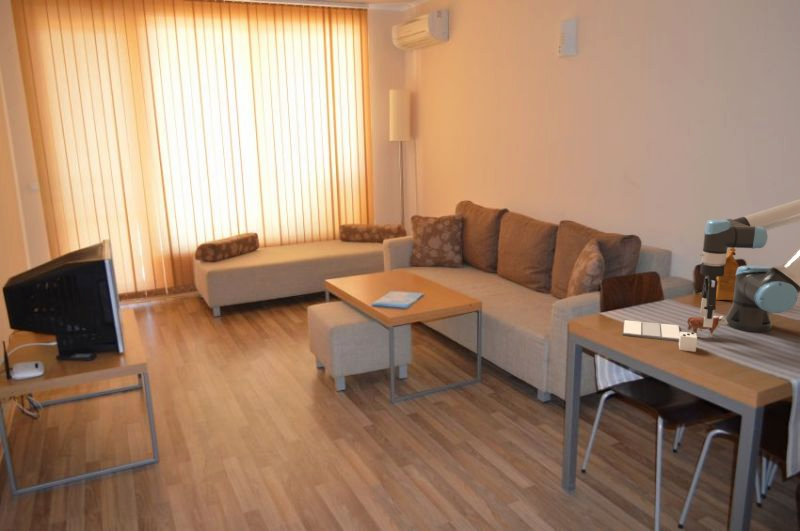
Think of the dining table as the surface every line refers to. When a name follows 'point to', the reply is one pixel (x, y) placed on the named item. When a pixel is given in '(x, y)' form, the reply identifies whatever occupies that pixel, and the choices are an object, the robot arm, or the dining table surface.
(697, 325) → the bull figurine
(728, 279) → the coffee package
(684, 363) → the dining table surface
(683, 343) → the white block with holes
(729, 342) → the dining table surface
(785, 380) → the dining table surface
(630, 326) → the game board
